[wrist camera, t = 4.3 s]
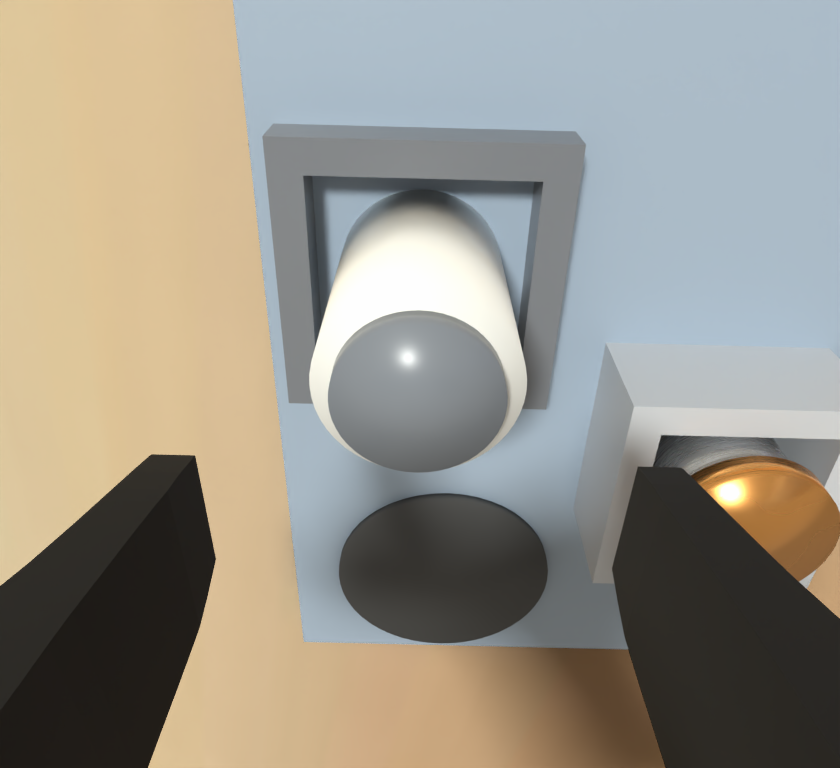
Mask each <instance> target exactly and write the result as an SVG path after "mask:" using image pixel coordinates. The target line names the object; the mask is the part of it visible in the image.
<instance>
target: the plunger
mask: <svg viewBox="0 0 840 768" xmlns="http://www.w3.org/2000/svg"><path fill="white" fill-rule="evenodd" d="M653 467H680V468H683V469H684V470H685V471H686V472H687V473H688V474H689V475H690V476H691V477H692V478H693V479H694V480H695V481H696V482H697V483H698V484H699V485H700V486H701V487H702V488H703V489H704V490H705V491H706V492H707V493H708V494H709V495H710V496H711V497H712V498H713V499H714V500H715V501H716V502H717V503H718V504H719V505H720V506H721V507H722V508H723V509H724V510H725V511H726V512H727V513H728V514H729V515H730V516H731V517H732V518H733V519H734V520H735V521H736V522H738V523H739V524H740V525H741V526H742V527H743V528H744V529H745V530H746V531H747V532H748V533H749V534H750V535H751V536H752V537H753V538H754V539H755V540H756V541H757V542H758V543H759V544H760V545H761V546H762V547H763V548H764V549H765V550H766V551H767V552H768V553H769V554H770V555H771V556H772V557H773V558H774V559H775V560H776V561H777V562H778V563H780V564H781V565H782V566H783V567H784V568H785V569H786V570H787V571H788V572H789V573H790V574H791V575H792V576H793V577H794V578H795V579H796V580H798V581H801V580H802V579H804V578H805V577H807V576H808V575H810V574H811V573H812V572H814V571H815V570H816V569H817V568H818V567H819V566H820V565H821V564H822V563H823V562H824V561H825V560H826V559H827V558H828V556H829V555H830V554H831V552H832V551H833V549H834V547H835V546H836V543H837V541H838V539H839V536H840V512H839V509H838V507H837V504H836V503H835V502H834V500H833V499H832V497H831V496H830V494H829V493H828V492H827V490H826V489H825V488H824V486H823V485H822V483H821V482H820V481H819V479H818V478H817V477H816V476H815V475H814V474H813V473H812V472H811V471H810V470H808V469H807V468H805V467H804V466H802V465H800V464H798V463H796V462H793V461H790V460H788V458H787V457H786V456H785V454H784V453H783V451H782V450H781V448H780V447H779V445H778V444H777V443H776V441H775V440H774V438H762V437H721V436H681V435H661V438H660V441H659V445H658V449H657V453H656V456H655V460H654V464H653Z"/></svg>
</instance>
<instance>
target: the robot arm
mask: <svg viewBox="0 0 840 768" xmlns="http://www.w3.org/2000/svg"><path fill="white" fill-rule="evenodd" d="M215 560H216V558H215V553H214V548H213V543H212V538H211V533H210V528H209V523H208V518H207V513H206V508H205V503H204V498H203V493H202V488H201V483H200V478H199V473H198V468H197V463H196V458H195V456H190V455H150V456H149V457H148V458H147V459H146V460H144V461H143V462H142V463H141V464H140V465H139V466H138V467H136V468H135V469H134V470H133V471H132V472H131V473H130V474H129V475H128V476H126V477H125V478H124V479H123V480H122V481H121V482H120V483H119V484H118V485H116V486H115V487H114V488H113V489H112V490H111V491H110V492H109V493H108V494H106V495H105V496H104V497H103V498H102V499H101V500H100V501H99V502H98V503H96V504H95V505H94V506H93V507H92V508H91V509H90V510H89V511H88V512H86V513H85V514H84V515H83V516H82V517H81V518H80V519H79V520H78V521H76V522H75V523H74V524H73V525H72V526H71V527H70V528H69V529H67V530H66V531H65V532H64V533H63V534H62V535H60V536H59V537H58V538H57V539H56V540H55V541H54V542H52V543H51V544H50V545H49V546H48V547H47V548H46V549H44V550H43V551H42V552H41V553H40V554H39V555H37V556H36V557H35V558H34V559H33V560H32V561H31V562H29V563H28V564H27V565H26V566H25V567H23V568H22V569H21V570H20V571H18V572H17V573H16V574H15V575H13V576H12V577H11V578H10V579H8V580H7V581H6V582H5V583H4V584H2V585H1V586H0V768H148V766H149V763H150V760H151V758H152V755H153V752H154V750H155V747H156V744H157V741H158V739H159V736H160V733H161V731H162V728H163V725H164V723H165V720H166V717H167V715H168V712H169V709H170V707H171V704H172V701H173V699H174V696H175V693H176V691H177V688H178V685H179V683H180V680H181V677H182V674H183V672H184V669H185V666H186V664H187V661H188V658H189V655H190V653H191V650H192V647H193V644H194V642H195V639H196V636H197V633H198V630H199V628H200V624H201V620H202V616H203V612H204V608H205V604H206V600H207V596H208V591H209V587H210V583H211V578H212V574H213V569H214V565H215ZM612 572H613V578H614V584H615V589H616V595H617V601H618V606H619V612H620V617H621V622H622V627H623V632H624V637H625V640H626V643H627V647H628V650H629V653H630V657H631V660H632V663H633V666H634V669H635V673H636V676H637V679H638V682H639V685H640V689H641V692H642V695H643V698H644V701H645V704H646V707H647V711H648V714H649V717H650V720H651V723H652V726H653V729H654V733H655V736H656V739H657V742H658V745H659V748H660V751H661V754H662V758H663V761H664V764H665V767H666V768H840V618H838V617H837V616H836V615H835V614H834V613H833V612H832V611H830V610H829V609H828V608H827V607H826V606H825V605H824V604H823V603H822V602H820V601H819V600H818V599H817V598H816V597H815V596H814V595H813V594H812V593H811V592H809V591H808V590H807V589H806V588H805V587H804V586H803V585H802V584H801V583H800V582H799V581H798V580H796V579H795V578H794V577H793V576H792V575H791V574H790V573H789V572H788V571H787V570H786V569H785V568H784V567H783V566H782V565H781V564H780V563H778V562H777V561H776V560H775V559H774V558H773V557H772V556H771V555H770V554H769V553H768V552H767V551H766V550H765V549H764V548H763V547H762V546H761V545H760V544H759V543H758V542H757V541H756V540H755V539H754V538H753V537H752V536H751V535H750V534H749V533H748V532H747V531H746V530H745V529H744V528H743V527H742V526H741V525H740V524H739V523H738V522H736V521H735V520H734V519H733V518H732V517H731V516H730V515H729V514H728V513H727V512H726V511H725V510H724V509H723V508H722V507H721V506H720V505H719V504H718V503H717V502H716V501H715V500H714V499H713V498H712V497H711V496H710V495H709V494H708V493H707V492H706V491H705V490H704V489H703V488H702V487H701V486H700V485H699V484H698V483H697V482H696V481H695V480H694V479H693V478H692V477H691V476H690V475H689V474H688V473H687V472H686V471H685V470H684V469H683V468H680V467H639V466H638V468H637V472H636V476H635V480H634V484H633V487H632V491H631V495H630V499H629V503H628V507H627V511H626V515H625V519H624V523H623V527H622V531H621V535H620V539H619V543H618V547H617V550H616V554H615V558H614V562H613V566H612Z"/></svg>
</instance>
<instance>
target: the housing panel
mask: <svg viewBox="0 0 840 768" xmlns="http://www.w3.org/2000/svg"><path fill="white" fill-rule="evenodd" d="M233 5H234V14H235V24H236V33H237V42H238V51H239V60H240V69H241V78H242V87H243V96H244V105H245V114H246V123H247V132H248V141H249V150H250V159H251V168H252V177H253V186H254V195H255V204H256V213H257V222H258V231H259V240H260V250H261V259H262V268H263V277H264V286H265V295H266V304H267V313H268V322H269V331H270V340H271V349H272V358H273V367H274V376H275V385H276V394H277V403H278V412H279V421H280V430H281V439H282V448H283V457H284V466H285V476H286V485H287V494H288V503H289V512H290V521H291V530H292V539H293V548H294V557H295V566H296V575H297V584H298V593H299V602H300V611H301V620H302V629H303V638H304V642H335V643H377V644H420V645H462V646H504V647H546V648H589V649H628V647H627V643H626V640H625V637H624V632H623V627H622V622H621V617H620V612H619V606H618V601H617V595H616V589H615V584H614V578H613V572H612V566H613V562H614V558H615V554H616V550H617V547H618V543H619V539H620V535H621V531H622V527H623V523H624V519H625V515H626V511H627V507H628V503H629V499H630V495H631V491H632V487H633V484H634V480H635V476H636V472H637V468H638V466H639V467H653V464H654V460H655V456H656V453H657V449H658V445H659V441H660V438H661V435H681V436H721V437H762V438H774V440H775V441H776V443H777V444H778V445H779V447H780V448H781V450H782V451H783V453H784V454H785V456H786V457H787V458H788V460H790V461H793V462H796V463H798V464H800V465H802V466H804V467H805V468H807V469H808V470H810V471H811V472H812V473H813V474H814V475H815V476H816V477H817V478H818V479H819V481H820V482H821V483H822V485H823V486H824V488H825V489H826V490H827V492H828V493H829V494H830V496H831V497H832V499H833V500H834V502H835V503H836V504H837V507H838V509H839V512H840V0H233ZM419 189H425V190H435V191H439V192H444V193H447V194H450V195H452V196H455V197H457V198H459V199H461V200H463V201H465V202H466V203H467V204H469V205H470V206H472V207H473V208H474V209H475V210H476V211H477V212H478V213H480V214H481V215H482V217H483V218H484V219H485V220H486V222H487V223H488V224H489V226H490V228H491V229H492V231H493V233H494V235H495V238H496V240H497V243H498V247H499V251H500V255H501V260H502V264H503V268H504V273H505V277H506V282H507V286H508V290H509V295H510V299H511V304H512V308H513V313H514V317H515V321H516V326H517V330H518V335H519V339H520V343H521V348H522V352H523V357H524V361H525V365H526V373H527V391H526V396H525V401H524V404H523V407H522V410H521V412H520V415H519V416H518V418H517V420H516V422H515V424H514V425H513V427H512V428H511V429H510V431H509V432H508V433H507V435H506V436H505V437H504V438H503V439H502V440H501V441H500V442H499V443H498V444H496V445H495V446H494V447H493V448H491V449H490V450H489V451H487V452H486V453H484V454H482V455H481V456H479V457H477V458H475V459H473V460H471V461H469V462H467V463H464V464H461V465H458V466H455V467H452V468H448V469H444V470H440V471H434V472H424V473H413V472H403V471H397V470H393V469H389V468H386V467H383V466H380V465H377V464H374V463H372V462H369V461H367V460H365V459H363V458H361V457H359V456H357V455H355V454H354V453H352V452H351V451H349V450H348V449H346V448H345V447H344V446H343V445H341V444H340V443H339V442H338V441H337V440H336V439H335V438H334V437H333V436H332V435H331V434H330V433H329V431H328V430H327V429H326V428H325V426H324V425H323V423H322V422H321V420H320V418H319V416H318V414H317V412H316V410H315V408H314V404H313V401H312V398H311V393H310V386H309V373H310V367H311V361H312V357H313V354H314V350H315V347H316V343H317V339H318V336H319V332H320V329H321V325H322V322H323V318H324V315H325V311H326V307H327V304H328V300H329V297H330V293H331V290H332V286H333V283H334V279H335V275H336V272H337V268H338V265H339V261H340V258H341V254H342V251H343V247H344V244H345V241H346V238H347V235H348V233H349V231H350V229H351V228H352V226H353V225H354V223H355V222H356V220H357V219H358V218H359V217H360V216H361V214H362V213H363V212H364V211H365V210H367V209H368V208H369V207H370V206H371V205H373V204H374V203H376V202H378V201H379V200H381V199H383V198H385V197H387V196H389V195H392V194H395V193H398V192H402V191H408V190H419ZM435 493H452V494H463V495H469V496H475V497H479V498H482V499H486V500H489V501H492V502H494V503H497V504H499V505H502V506H504V507H505V508H507V509H509V510H511V511H513V512H514V513H516V514H517V515H518V516H520V517H521V518H522V519H524V520H525V521H526V522H527V523H528V524H529V525H530V526H531V527H532V528H533V530H534V531H535V532H536V534H537V535H538V537H539V539H540V540H541V542H542V544H543V547H544V551H545V554H546V559H547V566H548V576H547V582H546V586H545V589H544V592H543V594H542V596H541V598H540V599H539V601H538V602H537V604H536V605H535V606H534V608H533V609H532V610H531V611H530V612H529V613H528V614H527V615H526V616H524V617H523V618H522V619H521V620H520V621H518V622H517V623H515V624H513V625H512V626H510V627H508V628H506V629H504V630H502V631H500V632H498V633H496V634H493V635H490V636H488V637H484V638H480V639H477V640H472V641H466V642H459V643H426V642H419V641H413V640H409V639H405V638H401V637H398V636H395V635H392V634H390V633H388V632H385V631H383V630H381V629H379V628H377V627H376V626H374V625H372V624H371V623H369V622H368V621H367V620H365V619H364V618H363V617H361V616H360V615H359V614H358V613H357V612H356V611H355V610H354V609H353V607H352V606H351V605H350V603H349V602H348V601H347V599H346V597H345V595H344V593H343V591H342V588H341V585H340V579H339V563H340V557H341V553H342V549H343V547H344V544H345V542H346V540H347V538H348V537H349V535H350V534H351V532H352V531H353V530H354V529H355V527H356V526H357V525H358V524H359V523H360V522H361V521H363V520H364V519H365V518H366V517H367V516H369V515H370V514H372V513H373V512H375V511H376V510H378V509H380V508H382V507H384V506H386V505H388V504H390V503H393V502H396V501H399V500H402V499H405V498H409V497H413V496H418V495H425V494H435ZM815 571H816V570H815ZM815 571H814V572H812V573H811V574H810V575H808V576H807V577H805V578H804V579H802V580H801V581H799V582H800V583H801V584H802V585H803V586H804V587H805V588H808V586H809V583H810V581H811V579H812V577H813V575H814V573H815Z"/></svg>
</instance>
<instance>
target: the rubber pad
mask: <svg viewBox="0 0 840 768" xmlns="http://www.w3.org/2000/svg"><path fill="white" fill-rule="evenodd" d="M547 576H548V566H547V559H546V554H545V551H544V547H543V544H542V542H541V540H540V539H539V537H538V535H537V534H536V532H535V531H534V530H533V528H532V527H531V526H530V525H529V524H528V523H527V522H526V521H525V520H524V519H522V518H521V517H520V516H518V515H517V514H516V513H514V512H513V511H511V510H509V509H507V508H505V507H504V506H502V505H499V504H497V503H494V502H492V501H489V500H486V499H482V498H479V497H475V496H469V495H463V494H452V493H435V494H425V495H418V496H413V497H409V498H405V499H402V500H399V501H396V502H393V503H390V504H388V505H386V506H384V507H382V508H380V509H378V510H376V511H375V512H373V513H372V514H370V515H369V516H367V517H366V518H365V519H364V520H363V521H361V522H360V523H359V524H358V525H357V526H356V527H355V529H354V530H353V531H352V532H351V534H350V535H349V537H348V538H347V540H346V542H345V544H344V547H343V549H342V553H341V557H340V563H339V579H340V585H341V588H342V591H343V593H344V595H345V597H346V599H347V601H348V602H349V603H350V605H351V606H352V607H353V609H354V610H355V611H356V612H357V613H358V614H359V615H360V616H361V617H363V618H364V619H365V620H367V621H368V622H369V623H371V624H372V625H374V626H376V627H377V628H379V629H381V630H383V631H385V632H388V633H390V634H392V635H395V636H398V637H401V638H405V639H409V640H413V641H419V642H426V643H459V642H466V641H472V640H477V639H480V638H484V637H488V636H490V635H493V634H496V633H498V632H500V631H502V630H504V629H506V628H508V627H510V626H512V625H513V624H515V623H517V622H518V621H520V620H521V619H522V618H523V617H524V616H526V615H527V614H528V613H529V612H530V611H531V610H532V609H533V608H534V606H535V605H536V604H537V602H538V601H539V599H540V598H541V596H542V594H543V592H544V589H545V586H546V582H547Z"/></svg>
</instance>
